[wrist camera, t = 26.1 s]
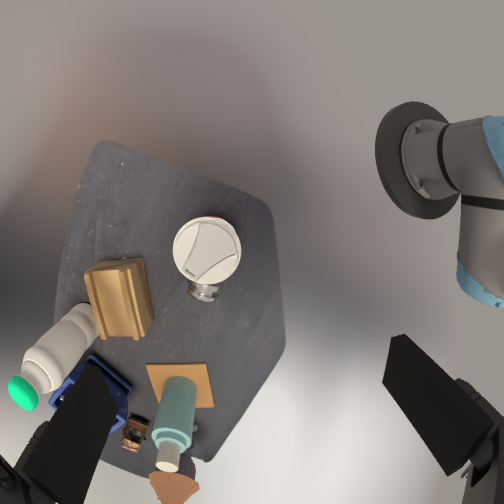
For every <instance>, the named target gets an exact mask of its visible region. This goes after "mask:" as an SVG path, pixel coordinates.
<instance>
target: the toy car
mask: <svg viewBox="0 0 504 504" xmlns="http://www.w3.org/2000/svg"><path fill="white" fill-rule="evenodd" d="M148 427H149V424H147V423H145V422H143V421H141V417H139V418H138V419H136V418H133V417H129V419H128V424H127V427H126V429H123V431H124V432H123V437H122V439H121V442H122V444H121V445H122V447H124V448H127V449H129V450H131V451H134V452H138V449H139V448H140V446H141V443H142V441H143V439H144V440H145V441H146V438H145V434H146V431H147V429H148Z"/></svg>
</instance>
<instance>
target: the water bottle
mask: <svg viewBox="0 0 504 504" xmlns="http://www.w3.org/2000/svg"><path fill="white" fill-rule="evenodd" d="M98 335H99V331H98V328H97V324H96V321H95V317H94V314H93V310H92V306H91V305H89V304H87V303H80V304H77V305H76V306H75V307H74V308H73V309H72V310H71V311H70V312H69V313H68V314H66V315H65V316H64V317H63V318H62V319H61V320H60V321H59V322H58V323H57V324H55V325H54V326H53V327H52V328H51V329H50V330H48V331H47V332H46V333H45V334H44V335H43V336H42V337H41V338H40V339H39V340H38V341H37V342H36V344H35V345H34V346H33V347H31V348H29V349H28V350H27V351H26V353H25V355H24V359H23V364H22V367H21V374H18V375H16V376H14V377H13V378H12V379H11V380H10V382H9V383H8V391H9V393H10V395H11V397H12V398H13V399H14V401H15V402H16V403H17V404H18V405H19V406H21V407H22V408H23V409H25V410H29V411H31V410H34V409H35V408H36V406H37V405H38V403H39V400H40V395H41V394H46V393H48V392H51V391H54V390H56V389H58V388H59V387H60V386H61V385H62V383H63V380H64V379H65V378H66V377H67V375H68V374H69V373H70V372H71V371H72V369H73V368H74V367H75V365H76V364H77V363H78V361H79V360H80V358H81V357H82V355H83V354H84V352H85V350H87V349H88V348H89V347H90V346H91V344H92V343H93V341H94V340H95V339H96V338H97V337H98Z"/></svg>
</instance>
